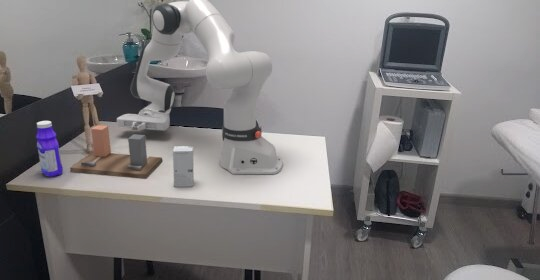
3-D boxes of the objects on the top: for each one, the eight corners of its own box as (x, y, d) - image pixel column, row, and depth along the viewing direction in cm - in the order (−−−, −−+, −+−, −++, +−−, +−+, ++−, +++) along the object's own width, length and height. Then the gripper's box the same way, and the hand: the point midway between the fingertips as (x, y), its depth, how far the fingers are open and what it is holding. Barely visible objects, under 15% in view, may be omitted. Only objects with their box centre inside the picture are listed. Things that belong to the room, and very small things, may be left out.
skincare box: (173, 187, 126) (171, 151, 122) (174, 180, 130) (173, 145, 126) (193, 186, 127) (192, 151, 123) (194, 180, 131) (193, 145, 127)
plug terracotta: (111, 152, 145) (108, 126, 142) (105, 156, 142) (102, 129, 138) (100, 151, 146) (97, 125, 142) (94, 155, 142) (91, 128, 138)
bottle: (39, 172, 133) (29, 121, 126) (57, 167, 137) (49, 117, 130) (47, 179, 128) (38, 127, 122) (66, 174, 132) (58, 123, 126)
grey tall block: (147, 162, 138) (145, 135, 135) (142, 167, 134) (139, 139, 131) (136, 161, 139) (133, 134, 135) (130, 166, 135) (128, 138, 131)
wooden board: (162, 161, 144) (162, 154, 143) (146, 178, 131) (145, 171, 130) (93, 155, 147) (92, 148, 146) (70, 171, 134) (69, 164, 133)
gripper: (124, 108, 169) (108, 118, 156) (172, 112, 166) (159, 123, 154) (126, 122, 171) (110, 134, 158) (173, 126, 169) (160, 138, 156)
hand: (134, 128), depth 156 cm, fingers closed
